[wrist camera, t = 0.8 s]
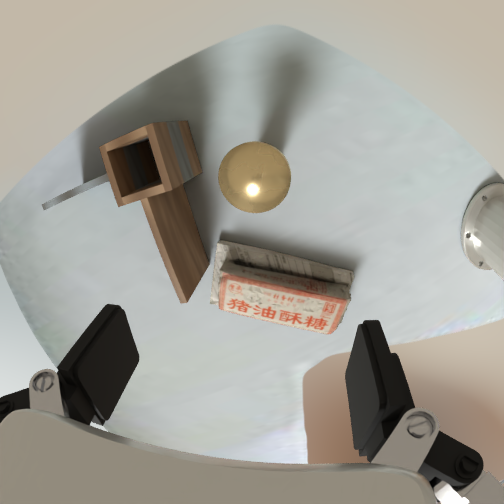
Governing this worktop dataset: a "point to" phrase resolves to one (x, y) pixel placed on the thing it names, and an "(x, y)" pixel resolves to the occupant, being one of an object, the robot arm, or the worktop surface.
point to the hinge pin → (254, 177)
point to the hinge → (157, 194)
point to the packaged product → (279, 287)
